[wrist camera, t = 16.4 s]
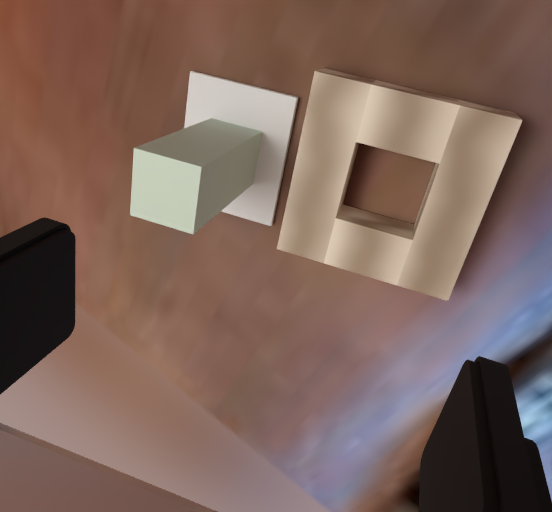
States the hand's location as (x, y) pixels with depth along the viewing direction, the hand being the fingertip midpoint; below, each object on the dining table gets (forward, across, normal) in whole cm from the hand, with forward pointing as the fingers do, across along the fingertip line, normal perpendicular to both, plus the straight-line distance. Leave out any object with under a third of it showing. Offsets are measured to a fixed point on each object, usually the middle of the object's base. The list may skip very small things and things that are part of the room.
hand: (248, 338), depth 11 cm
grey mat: (+30, +11, +5) cm, 33 cm away
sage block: (+30, +11, +5) cm, 32 cm away
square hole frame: (+30, -2, +4) cm, 31 cm away
